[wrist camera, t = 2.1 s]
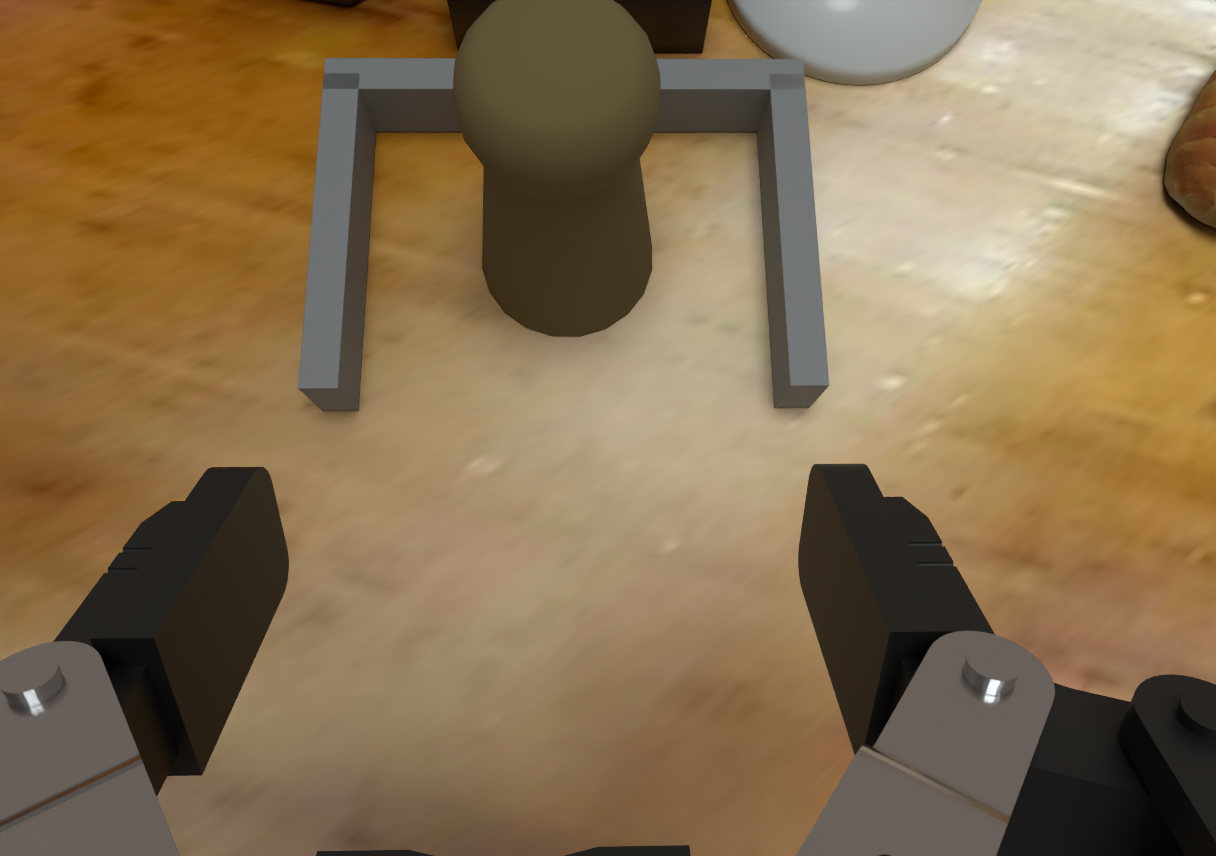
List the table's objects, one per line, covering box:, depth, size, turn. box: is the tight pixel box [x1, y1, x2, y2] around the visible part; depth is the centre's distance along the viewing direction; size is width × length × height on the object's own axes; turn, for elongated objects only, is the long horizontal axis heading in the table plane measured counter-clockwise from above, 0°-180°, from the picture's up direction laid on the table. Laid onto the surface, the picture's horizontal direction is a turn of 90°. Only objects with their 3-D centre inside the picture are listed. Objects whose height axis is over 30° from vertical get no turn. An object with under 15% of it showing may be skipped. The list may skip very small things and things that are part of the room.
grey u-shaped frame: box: [298, 58, 829, 411], centre depth 30 cm, size 16×12×2 cm
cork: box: [452, 0, 661, 336], centre depth 25 cm, size 6×6×11 cm
